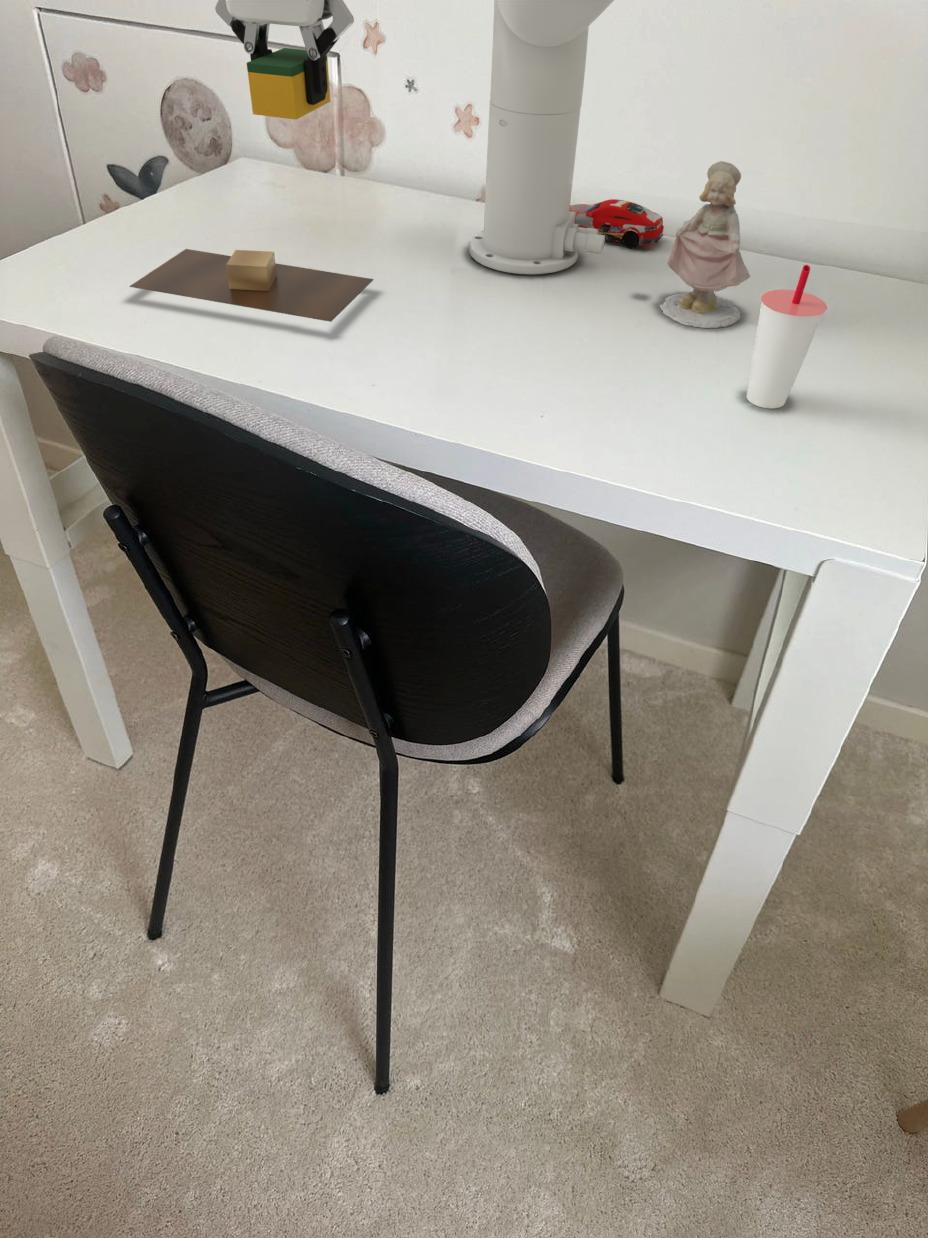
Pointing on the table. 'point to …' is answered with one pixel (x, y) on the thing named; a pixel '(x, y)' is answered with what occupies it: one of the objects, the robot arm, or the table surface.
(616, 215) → the race car
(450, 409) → the table surface
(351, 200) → the table surface
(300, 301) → the board
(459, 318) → the table surface
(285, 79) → the sponge
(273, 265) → the wooden block
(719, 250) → the figurine
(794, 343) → the cup
